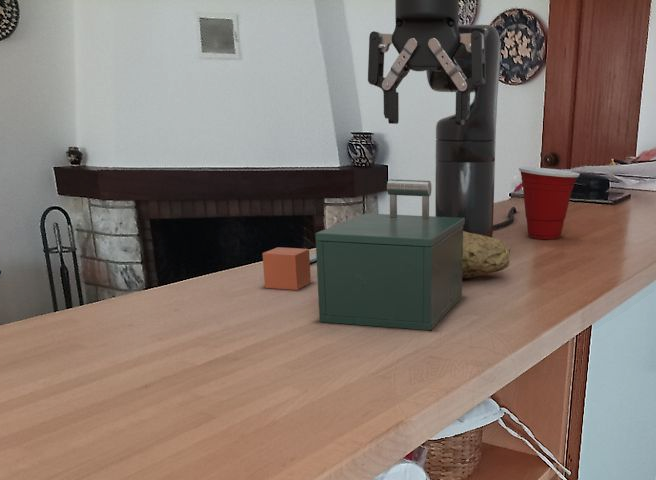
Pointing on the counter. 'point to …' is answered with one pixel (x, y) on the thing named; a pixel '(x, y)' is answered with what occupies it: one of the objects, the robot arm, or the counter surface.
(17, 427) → the counter surface
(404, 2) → the robot arm
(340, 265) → the box
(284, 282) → the block
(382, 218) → the lid
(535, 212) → the plastic cup
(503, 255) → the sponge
